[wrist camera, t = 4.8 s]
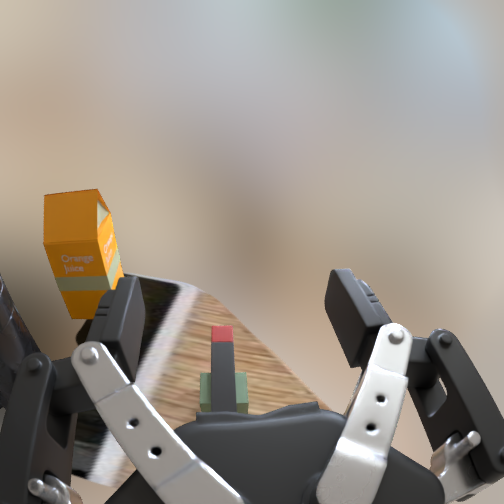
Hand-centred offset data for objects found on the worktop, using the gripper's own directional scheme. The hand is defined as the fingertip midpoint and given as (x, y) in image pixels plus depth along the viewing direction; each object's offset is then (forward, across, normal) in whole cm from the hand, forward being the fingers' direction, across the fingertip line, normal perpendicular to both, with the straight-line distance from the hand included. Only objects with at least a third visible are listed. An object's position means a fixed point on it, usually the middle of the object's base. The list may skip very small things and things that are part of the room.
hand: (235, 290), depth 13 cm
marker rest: (+9, 0, +26) cm, 28 cm away
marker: (+9, 0, +19) cm, 21 cm away
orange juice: (+29, +20, +25) cm, 43 cm away
